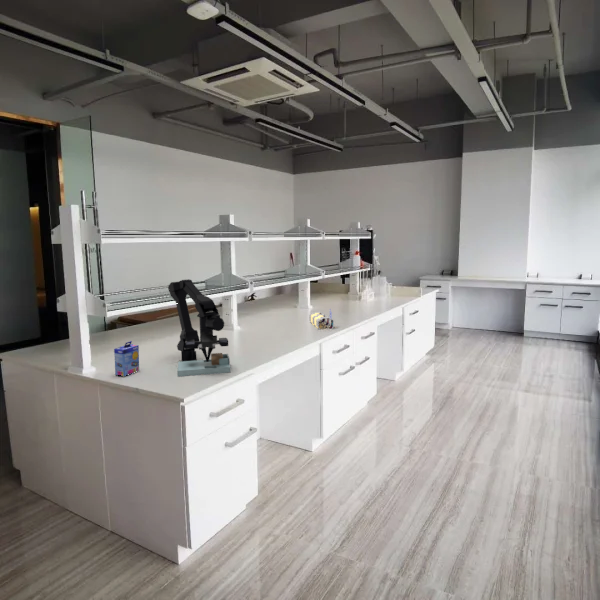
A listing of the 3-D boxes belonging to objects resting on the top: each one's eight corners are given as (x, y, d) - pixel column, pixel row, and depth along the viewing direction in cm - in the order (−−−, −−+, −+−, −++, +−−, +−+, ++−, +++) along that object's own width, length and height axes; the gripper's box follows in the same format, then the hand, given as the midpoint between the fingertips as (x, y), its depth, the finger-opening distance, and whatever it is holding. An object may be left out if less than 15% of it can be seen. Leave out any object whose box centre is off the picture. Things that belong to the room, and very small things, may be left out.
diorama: (333, 329, 290) (333, 309, 288) (318, 330, 288) (318, 310, 286) (323, 322, 315) (323, 303, 313) (309, 323, 312) (309, 304, 311)
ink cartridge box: (124, 377, 194) (122, 344, 192) (114, 376, 196) (112, 343, 194) (140, 371, 203) (138, 339, 201) (130, 369, 205) (128, 338, 203)
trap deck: (177, 376, 194) (177, 364, 193) (178, 366, 208) (178, 355, 208) (230, 372, 199) (230, 360, 198) (227, 363, 214) (227, 352, 213)
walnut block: (211, 365, 202) (211, 356, 201) (211, 362, 207) (211, 353, 206) (223, 364, 203) (222, 355, 203) (222, 361, 208) (222, 352, 207)
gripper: (184, 332, 192) (185, 368, 194) (228, 330, 196) (229, 365, 198) (184, 327, 202) (186, 361, 205) (226, 325, 207) (227, 358, 209)
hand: (207, 361), depth 204 cm, fingers closed
